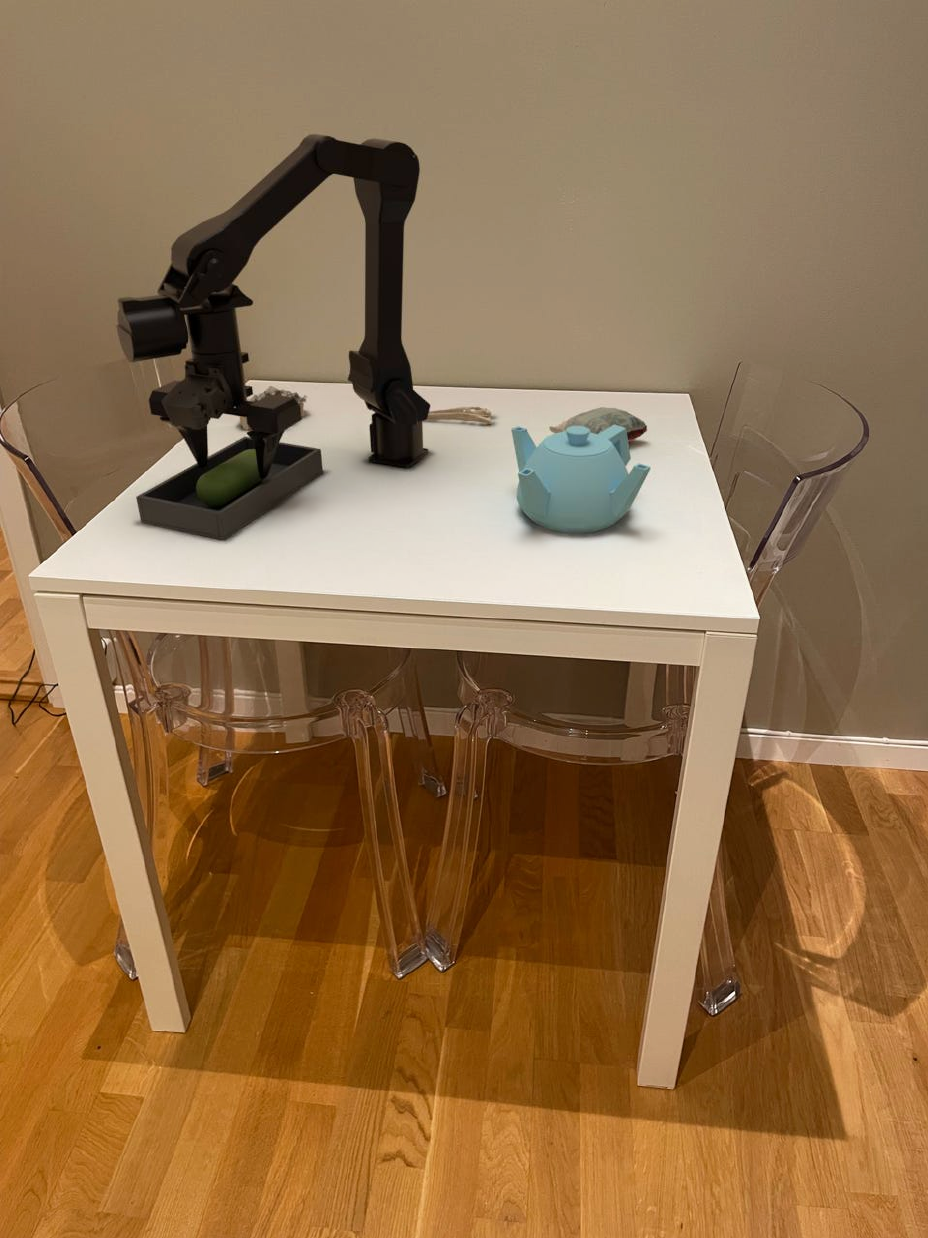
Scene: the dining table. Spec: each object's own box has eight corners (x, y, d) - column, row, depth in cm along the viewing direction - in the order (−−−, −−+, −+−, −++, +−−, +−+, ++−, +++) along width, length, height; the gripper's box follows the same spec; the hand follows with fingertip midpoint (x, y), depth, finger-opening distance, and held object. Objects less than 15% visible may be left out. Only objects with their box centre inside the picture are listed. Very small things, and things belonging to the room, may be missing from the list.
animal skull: (492, 415, 147) (491, 402, 146) (491, 426, 143) (490, 413, 142) (381, 421, 148) (379, 408, 147) (377, 432, 144) (375, 419, 143)
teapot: (646, 540, 110) (655, 452, 104) (516, 541, 109) (519, 453, 104) (625, 487, 123) (632, 407, 117) (509, 488, 122) (511, 408, 117)
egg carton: (272, 435, 140) (269, 408, 138) (231, 428, 143) (228, 401, 141) (313, 413, 148) (310, 387, 146) (273, 406, 151) (270, 381, 149)
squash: (278, 477, 125) (273, 445, 122) (221, 514, 115) (214, 480, 113) (251, 474, 126) (245, 443, 124) (192, 510, 117) (185, 476, 114)
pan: (323, 472, 127) (321, 448, 126) (224, 540, 110) (220, 513, 108) (247, 459, 132) (244, 436, 130) (141, 522, 114) (135, 496, 113)
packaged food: (548, 444, 136) (550, 411, 133) (606, 426, 142) (608, 394, 139) (591, 463, 130) (594, 428, 127) (649, 443, 136) (653, 410, 134)
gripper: (105, 357, 108) (131, 484, 116) (241, 376, 102) (258, 508, 110) (168, 333, 117) (188, 453, 125) (297, 349, 110) (309, 474, 118)
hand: (233, 472), depth 119 cm, fingers open, 9 cm apart
